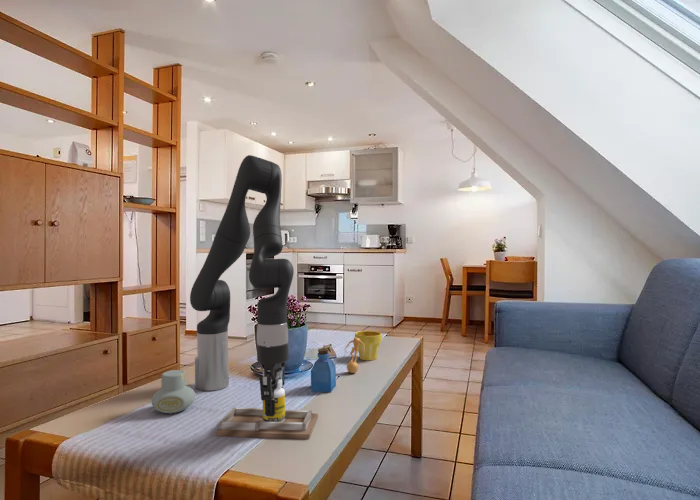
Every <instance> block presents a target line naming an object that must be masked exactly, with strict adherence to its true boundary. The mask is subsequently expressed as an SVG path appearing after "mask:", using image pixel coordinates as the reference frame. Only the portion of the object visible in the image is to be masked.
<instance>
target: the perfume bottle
mask: <svg viewBox="0 0 700 500" xmlns="http://www.w3.org/2000/svg"><path fill="white" fill-rule="evenodd" d="M329 357H330V354H329V348H327V347H325V348H323V347H322V348H318V349H317V359H316V360H315V361H314V363H313V366H312V368H311V370H310V391H311V392H316V393H317V392H318V393H332V392H333V391H334V389H335V388H336V386H337V381H336V379H337V377H336V376H337V373H336V372H337V371H336V367H337V366H336V364H335V362H334V361H333V359H332V358H329Z"/></svg>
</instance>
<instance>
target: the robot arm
mask: <svg viewBox="0 0 700 500" xmlns="http://www.w3.org/2000/svg"><path fill="white" fill-rule="evenodd" d="M237 171H238V172H237V174H236V176H235V180H234V183H233V187H232V190H231V194H230V197H229V200H228V203H227V206H226V208H225V211H224V214H223V216H222V219H221V221H220V223H219V225H218V227H217V230H216V233H215V235H214V238H213V240H212V244H211V246H210V249H209V252H208V254H207V256H206V259H205V260H204V263H203V265H202V267H201V270H200V272H199V273H198V275H197V277H196V279H195V281H194V283H193V285H192V287H191V291H190V294H189V302H190V306H191V308H192V309H193V310H195V311H197V312H208V311H209V313H208V315H207V316H206V317H205V318H204V319H203V320H201V321H199V322H198V323H197V325H196V346H197V347H196V351H197V356H196V357H194V385H195V388H194V389H196V390H201V391H207V392H208V391H210V392H211V391H218V390H223V389H224V388H227V387H228V386H229V382H230V381H229V379H230V377H229V336H228V335H229V334H228V331H229V328H228V327H229V324H230V319H231V290H230V287H229V285H228V283H227V282H226V281H225V280H223V279H220V278H221V276H223V274H224V273H225V272H226V271H227V270H229V268H230V267H231V266H233V265H234V264H235V262H237V260H238V259H239V258H241V256H242V255H243V254H244V251H245V249H246V246H247V244H248V241H249V239H250V236H251V226H250V222H249V219H248V214H247V209H246V198H247V194H248V192H249V190H250V191H253V192H256V193H261V194H263V195H264V194H265V198H266V201H265V204H264V205H263V206H262V208H261V210H259V212H258V213H257V214H256V216H255V218H254V221H253V225H252V231H253V232H252V234H253V245H254V246H253V256H252V259H251V263H250V267H249V271H248V280H249V283H250V284H251V286H253V287H254V288H255V289H276V288H277V291H276V292H275V293H274V294H273V295H271V296H269V297H264V298H261V299H259V300H258V302H257V304H256V305H257V307H256V309H257V310H256V312H257V313H256V314H257V327H256V360H257V362H258V363H259V364H262V365H264V369H263V371H262V375H260V376H259V385H260V386H259V389H260V399H261V401H262V402H263V401H264V400H265V415H266V416H274V415H275V392H276V390H277V389H278V381H279V379H281V380H282V387H281V388H283V389H284V387H283V386H285V378H286V377H285V374H286V373H285V371H286V370H285V369H286V362H287V361H288V360H289V327H288V315H287V314H288V313H287V311H288V309H287V308H288V299H289V298H288V297H289V294H290V291H291V285H292V281H293V278H294V274H295V272H294V265H293V264H292V262H291V261H290V260H289V259H287V258H272V257H276V256H278V255H280V254H281V252H282V251H283V246H284V245H283V237H282V229H281V217H280V216H281V202H282V170H281V167H280V165H279V164H277V163H275V162H272V161H270V160H267V159H264V158H261V157H258V156H256V155H252V154H248V155H246V156H245V157H244V158H243V159H242V161H241V163H240V165H239V168H238V170H237ZM274 384H275V385H274ZM272 385H274V386H272ZM267 392H269V395H267Z"/></svg>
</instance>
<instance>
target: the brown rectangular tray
mask: <svg viewBox="0 0 700 500" xmlns="http://www.w3.org/2000/svg"><path fill="white" fill-rule="evenodd" d="M318 418H319V413H315V412H314V413H313V410H299V409H298V410H297V409H296V410H295V409H285V420H284V421H283V422H263V407H259V408H258V407H232V408H231V409H230V410H229V412H228V413H227V414H226V415H225V416H224V417H223V418H222V419H221V420H220V421H219V422H218V423H217V425H218V426H217V427H218V429H217V430H216V431H215V437H237V438H238V437H239V438H266V439H267V438H270V439H271V438H272V439H274V438H275V439H299V440H300V439H303V440H305V439H306V440H309V439H310V438H311V435H312V434H313V430H314V428H315V426H316V424H317V421H318V420H319V419H318Z"/></svg>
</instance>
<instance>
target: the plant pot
mask: <svg viewBox="0 0 700 500" xmlns="http://www.w3.org/2000/svg"><path fill="white" fill-rule="evenodd" d="M382 336H383V335H382V332H380V331H376V330H359V331H357V332H356V331H355V333H354V337H356V338H359V339H360V341H361V342H363V343H364V345H365V346H364V347H365V353H364V352H363V350H364V349H363V345H362V344H361V343H360V344H359V346H358V348H359V351H358V356H359V357H358V358H359V359H360V360H361V361H366V362H367V361H375V360H377V358H378V353H379V351H380V350H379V349H380V345H381V344H382V341H383V340H382V339H383V338H382Z"/></svg>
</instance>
